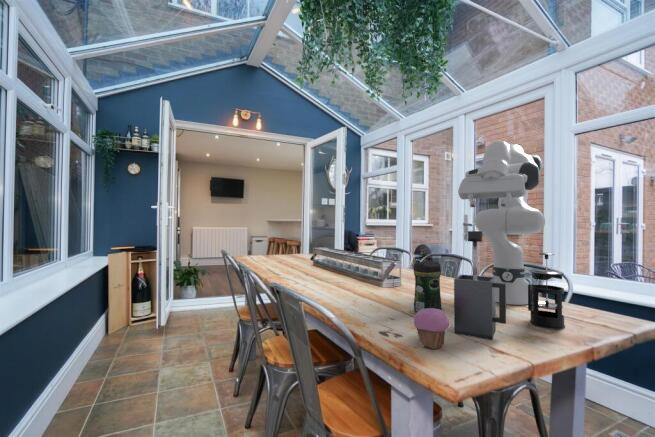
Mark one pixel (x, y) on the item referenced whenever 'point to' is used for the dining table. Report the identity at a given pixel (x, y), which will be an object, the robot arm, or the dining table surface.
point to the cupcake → (431, 327)
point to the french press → (546, 317)
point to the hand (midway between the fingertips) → (487, 205)
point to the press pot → (478, 306)
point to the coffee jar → (427, 285)
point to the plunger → (475, 248)
